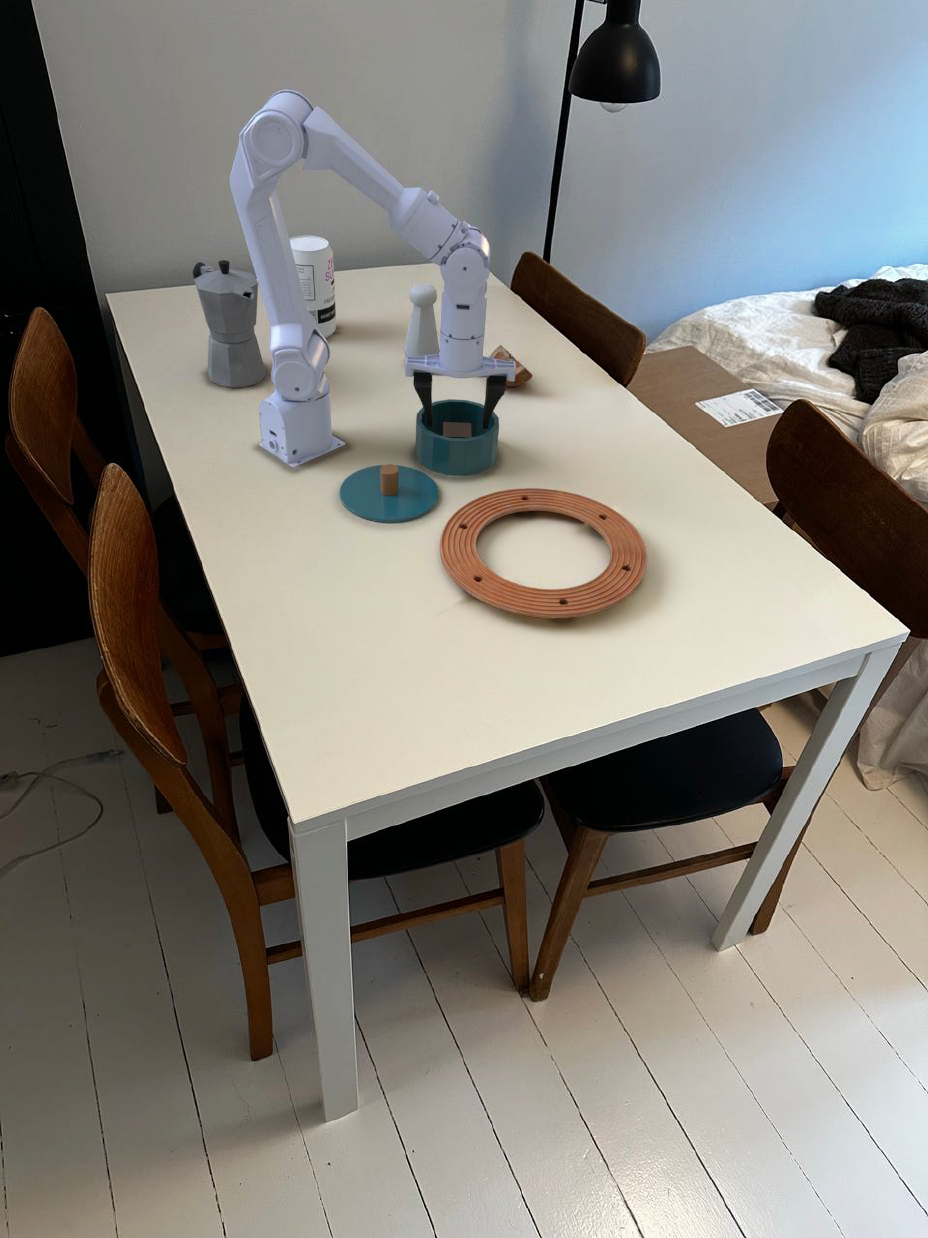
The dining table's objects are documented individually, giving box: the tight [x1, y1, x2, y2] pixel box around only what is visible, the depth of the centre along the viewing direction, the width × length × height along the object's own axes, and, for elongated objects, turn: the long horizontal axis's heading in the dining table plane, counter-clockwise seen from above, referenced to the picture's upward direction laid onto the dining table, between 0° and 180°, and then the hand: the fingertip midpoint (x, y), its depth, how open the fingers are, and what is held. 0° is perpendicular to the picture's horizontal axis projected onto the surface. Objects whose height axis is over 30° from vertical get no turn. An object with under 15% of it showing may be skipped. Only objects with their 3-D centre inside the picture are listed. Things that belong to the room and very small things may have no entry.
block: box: [442, 422, 472, 439], centre depth 131 cm, size 4×4×4 cm
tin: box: [414, 398, 500, 477], centre depth 130 cm, size 11×11×6 cm
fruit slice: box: [489, 344, 533, 387], centre depth 148 cm, size 8×7×5 cm
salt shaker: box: [403, 283, 440, 358], centre depth 149 cm, size 6×6×13 cm
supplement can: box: [289, 235, 337, 339], centre depth 155 cm, size 8×8×15 cm
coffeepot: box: [192, 259, 268, 389], centre depth 142 cm, size 15×9×18 cm, turn 44°
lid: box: [339, 463, 439, 524], centre depth 122 cm, size 13×13×4 cm
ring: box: [439, 487, 648, 620], centre depth 114 cm, size 25×25×2 cm
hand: (457, 424), depth 129 cm, fingers open, 7 cm apart
